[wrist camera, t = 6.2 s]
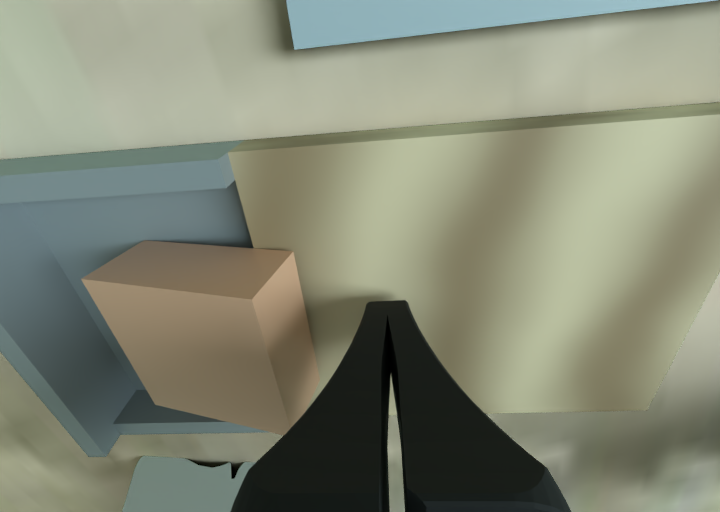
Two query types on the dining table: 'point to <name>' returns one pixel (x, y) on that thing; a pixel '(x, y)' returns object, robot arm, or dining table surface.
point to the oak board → (505, 245)
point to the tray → (91, 251)
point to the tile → (212, 329)
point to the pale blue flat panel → (433, 16)
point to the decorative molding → (182, 486)
